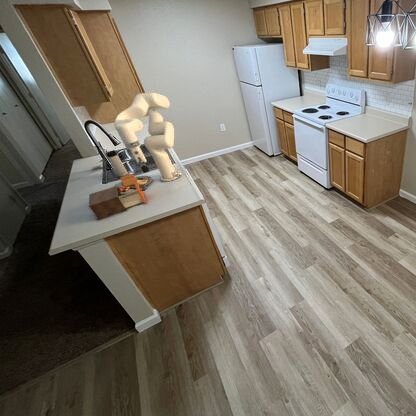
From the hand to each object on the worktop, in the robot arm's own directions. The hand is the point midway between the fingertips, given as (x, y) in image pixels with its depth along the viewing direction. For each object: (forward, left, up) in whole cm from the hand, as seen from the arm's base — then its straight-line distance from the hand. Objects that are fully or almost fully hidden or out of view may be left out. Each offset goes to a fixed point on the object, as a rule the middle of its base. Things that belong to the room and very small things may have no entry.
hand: (146, 171), depth 167 cm
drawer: (+11, +7, -16) cm, 21 cm away
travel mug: (+41, -33, -17) cm, 55 cm away
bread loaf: (+24, -13, -14) cm, 30 cm away
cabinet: (+22, +14, -17) cm, 31 cm away
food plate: (+23, -13, -17) cm, 32 cm away
